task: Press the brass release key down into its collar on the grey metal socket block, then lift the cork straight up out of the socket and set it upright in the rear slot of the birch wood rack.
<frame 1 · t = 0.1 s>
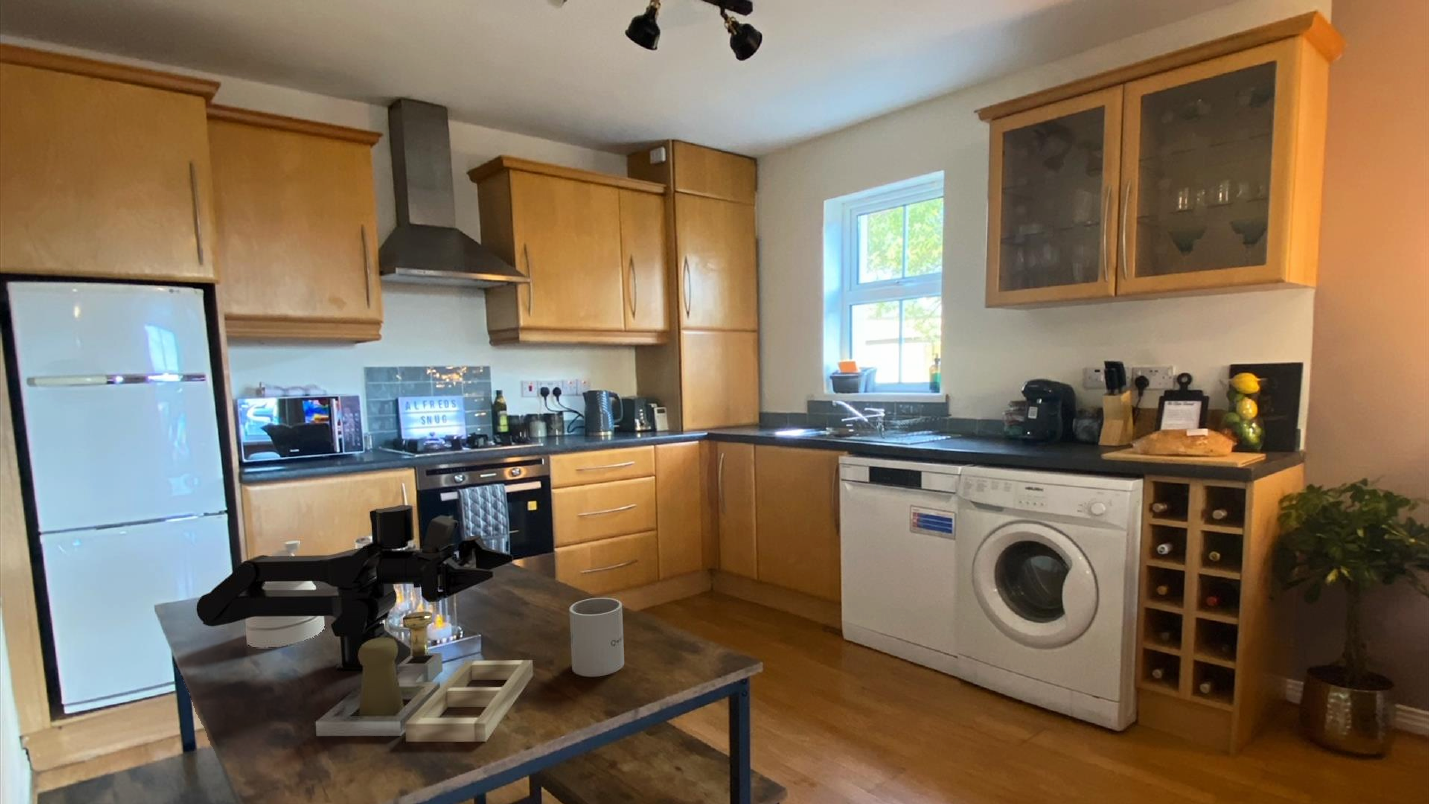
hand: (503, 565, 118), 17 cm above the table, tool horizontal, fingers open, 9 cm apart
rack: (475, 705, 104), on the table
cork: (381, 715, 102), resting in socket block
socket block: (381, 714, 102), on the table
mug: (604, 661, 118), on the table
honey pot: (286, 636, 135), on the table
release key: (418, 634, 113), point 7 cm above the table, slide at 0.0 cm
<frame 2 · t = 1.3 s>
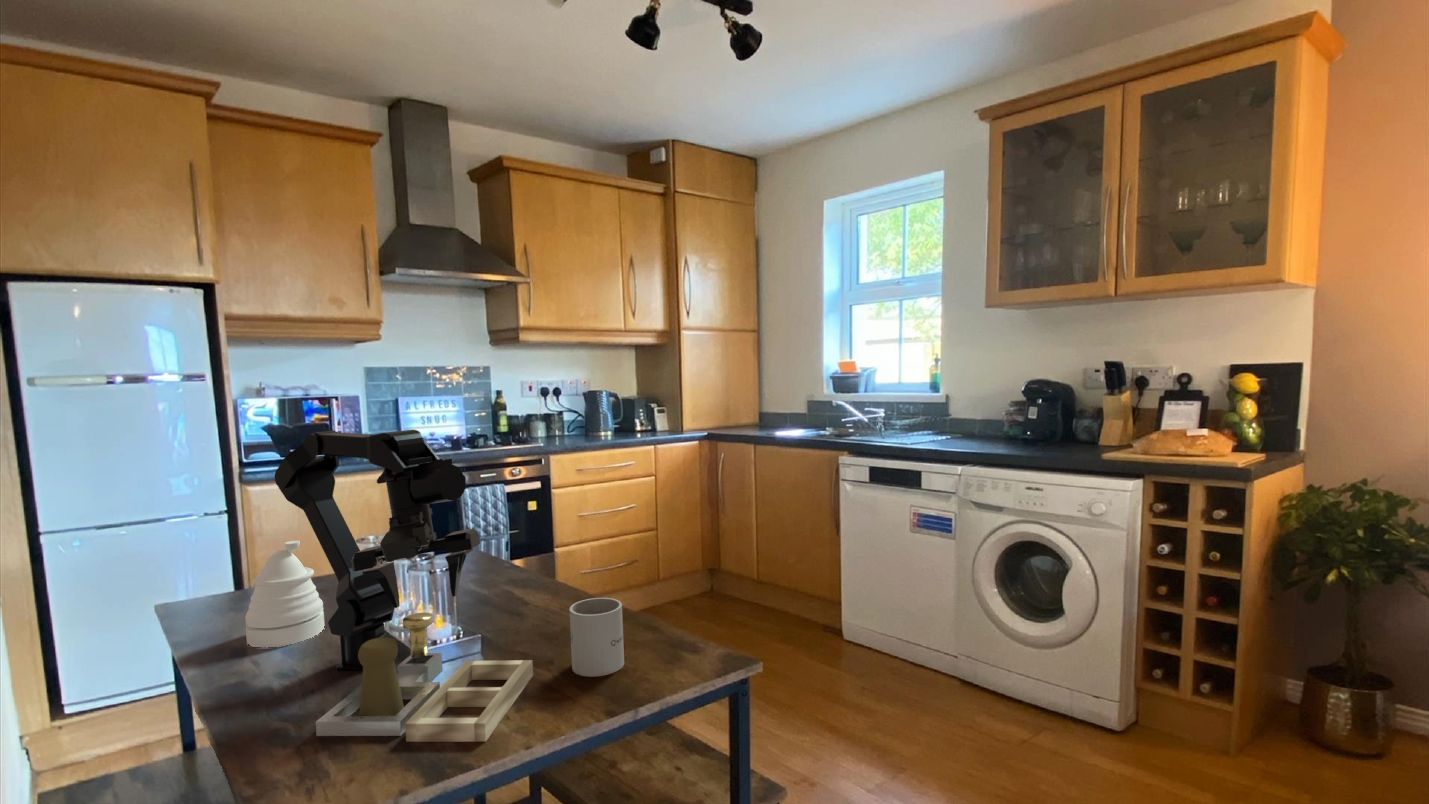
hand: (426, 601, 113), 13 cm above the table, tool pointing down, fingers open, 9 cm apart
nothing on the table moved.
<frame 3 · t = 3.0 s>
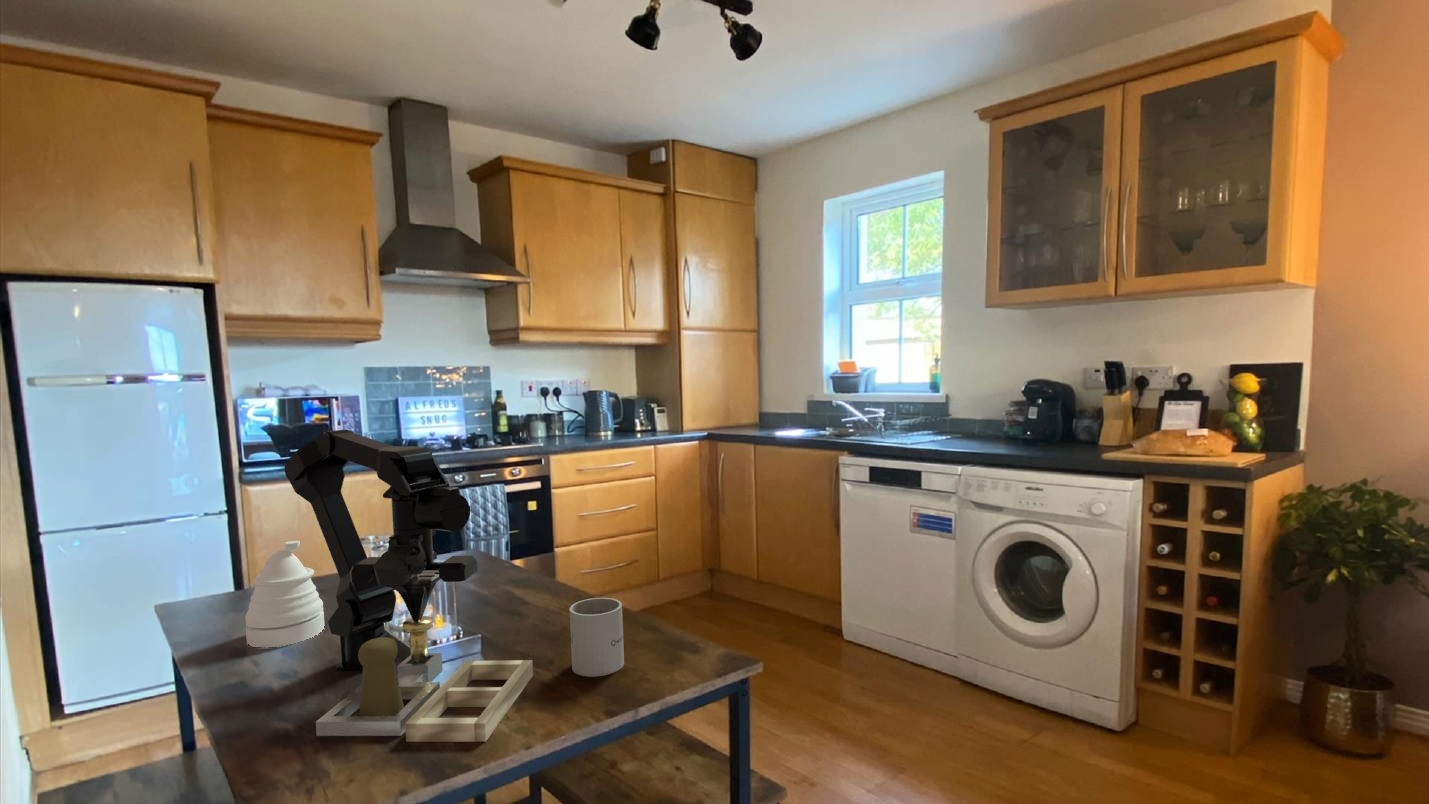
hand: (417, 620, 113), 9 cm above the table, tool pointing down, fingers closed, pressing on release key
release key: (418, 639, 113), point 6 cm above the table, slide at 0.8 cm, touching gripper
everything else where it was.
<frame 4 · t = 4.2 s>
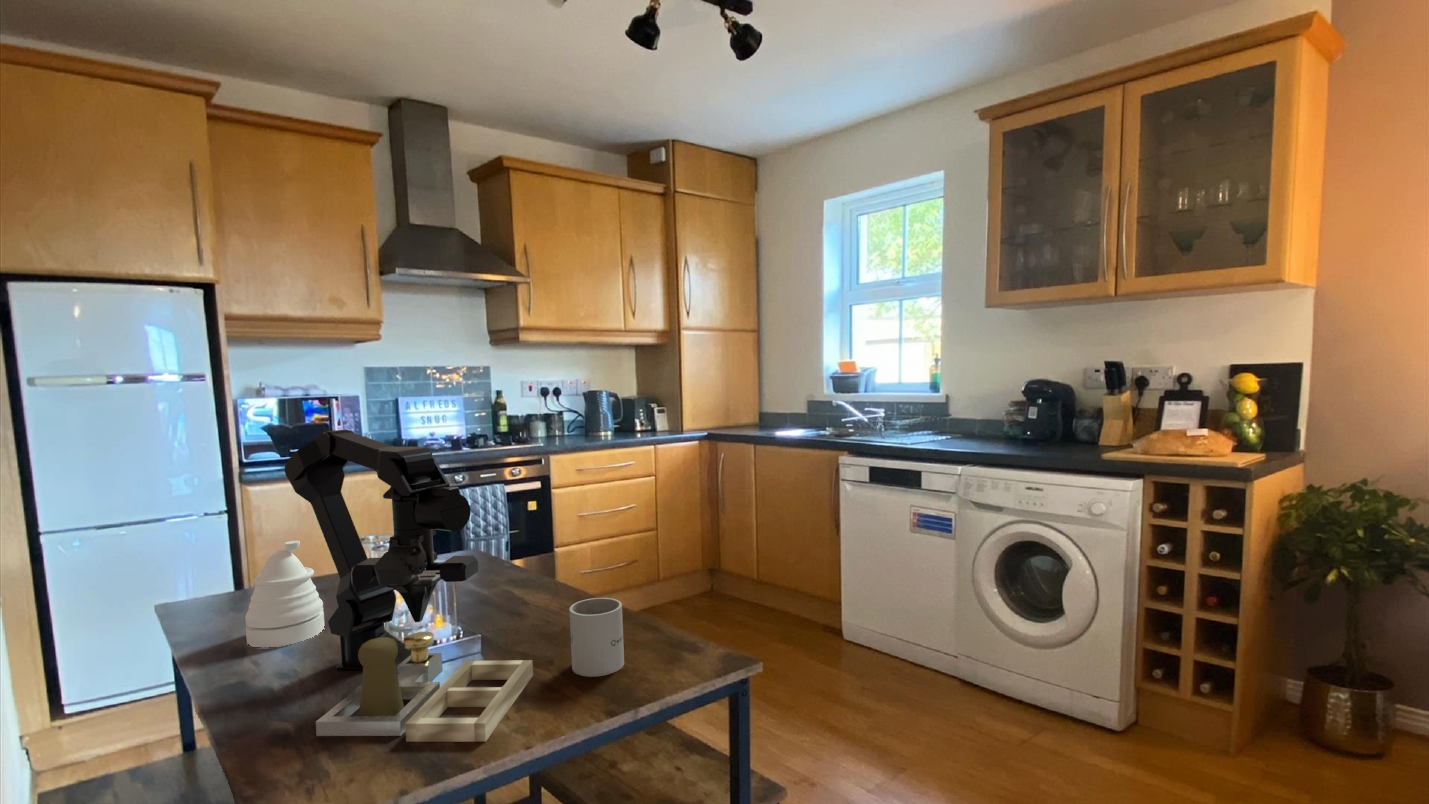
hand: (418, 621, 113), 9 cm above the table, tool pointing down, fingers closed
release key: (419, 655, 114), point 4 cm above the table, slide at 3.4 cm
everything else where it was.
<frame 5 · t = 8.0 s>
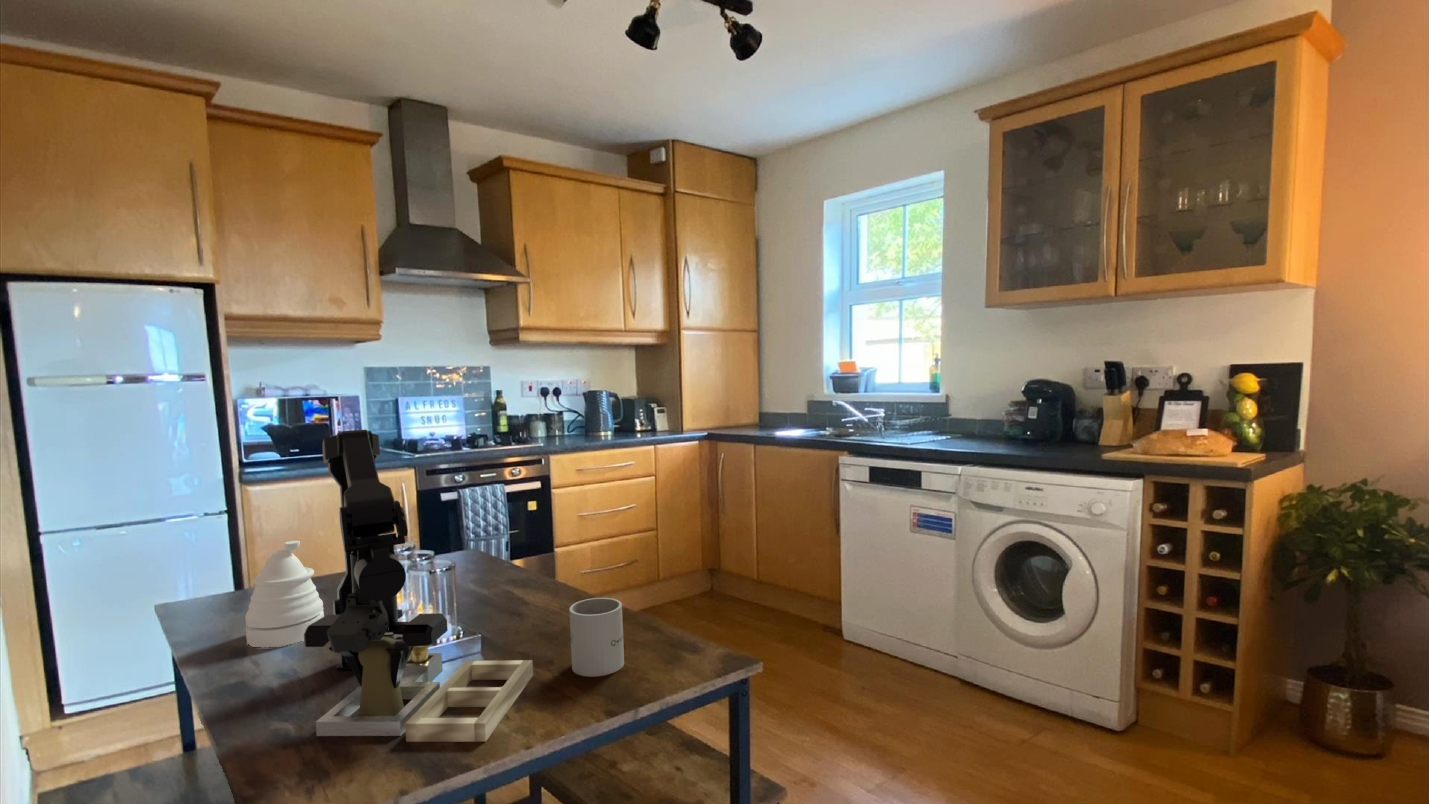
hand: (380, 687, 102), 4 cm above the table, tool pointing down, fingers closed on cork, 4 cm apart
cork: (381, 715, 102), resting in socket block, touching gripper
everything else where it was.
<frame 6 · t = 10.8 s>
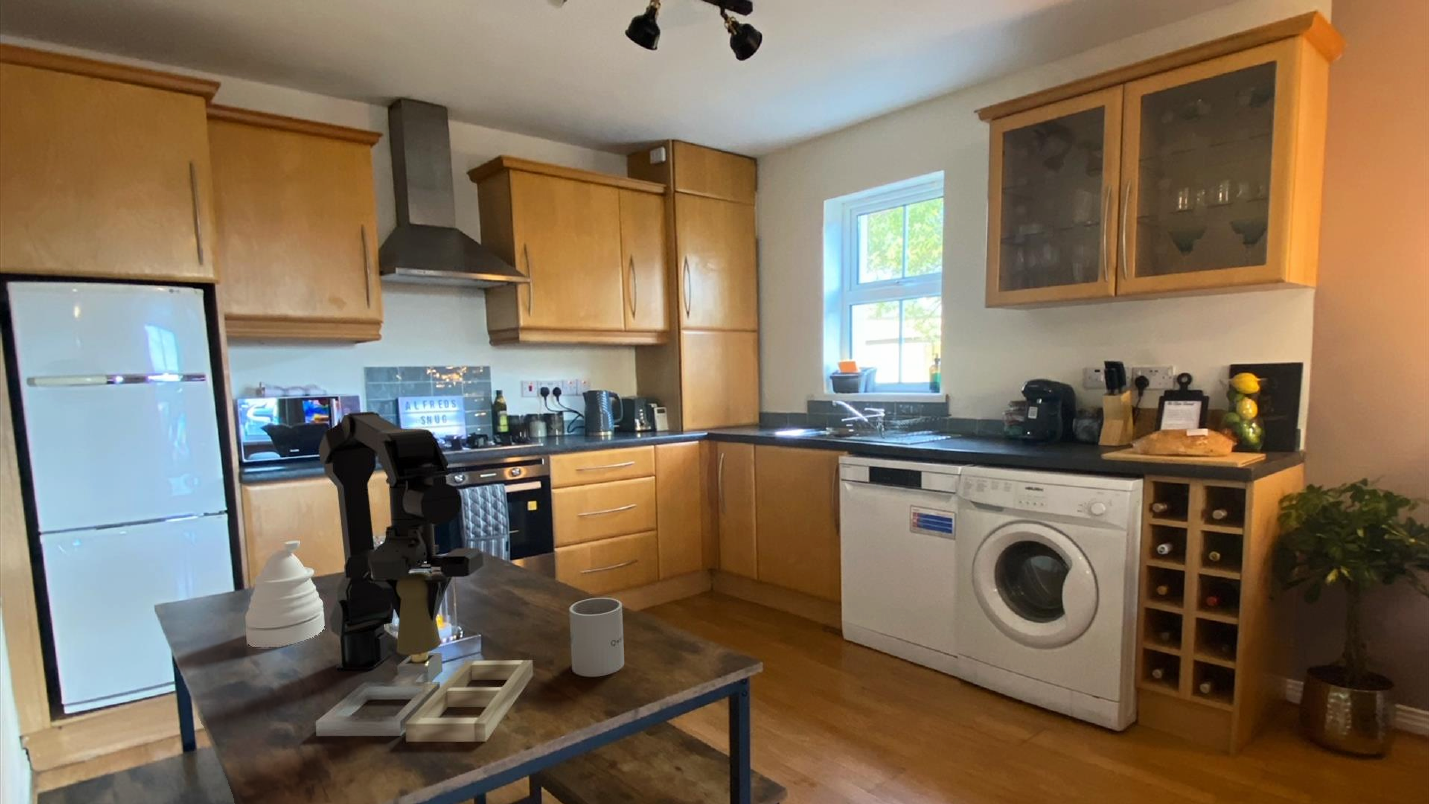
hand: (417, 619, 103), 13 cm above the table, tool pointing down, fingers closed on cork, 4 cm apart
cork: (419, 647, 104), point 9 cm above the table, touching gripper
everything else where it was.
when the fingers open (5 cm above the table, at t = 13.6 s): cork drops 1 cm, resting in rack.
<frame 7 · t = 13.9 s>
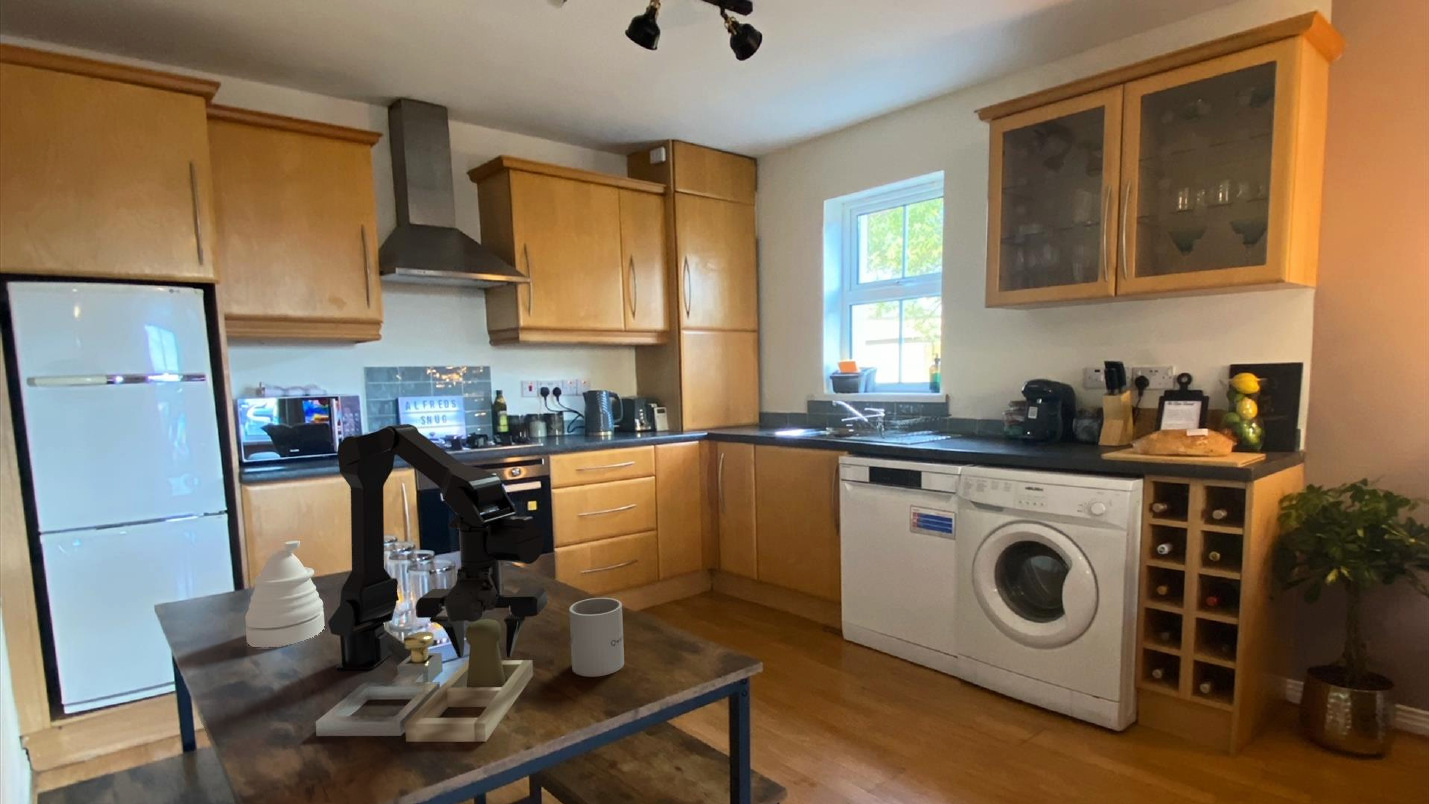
hand: (485, 656, 108), 5 cm above the table, tool pointing down, fingers open, 7 cm apart
cork: (486, 692, 108), resting in rack
everything else where it was.
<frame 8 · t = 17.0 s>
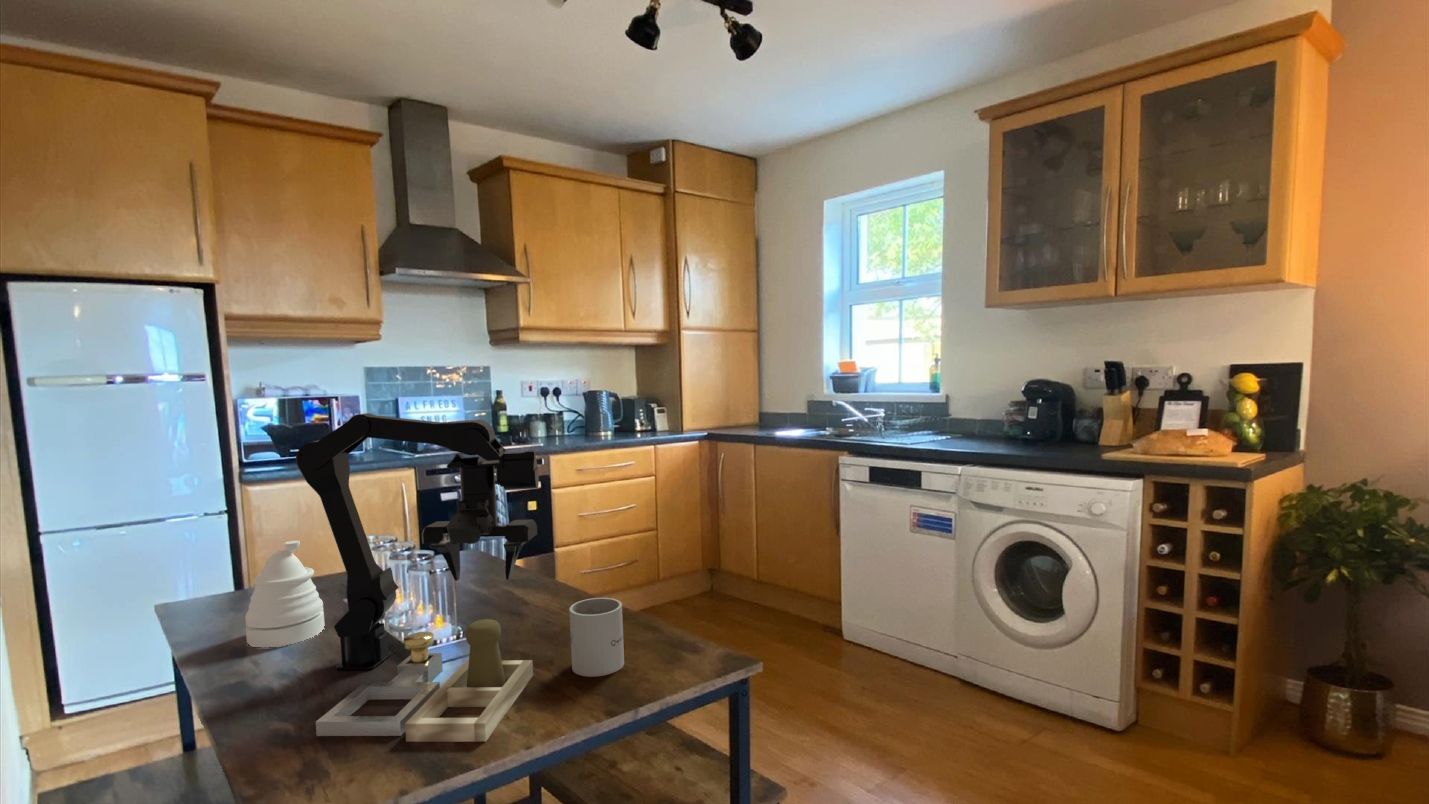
hand: (482, 579, 123), 13 cm above the table, tool pointing down, fingers open, 9 cm apart
nothing on the table moved.
at the end: release key slide at 3.4 cm; cork 0.1 cm from the target spot on the rack, point 0.0 cm above the rack's base; cork tilted 0° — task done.
